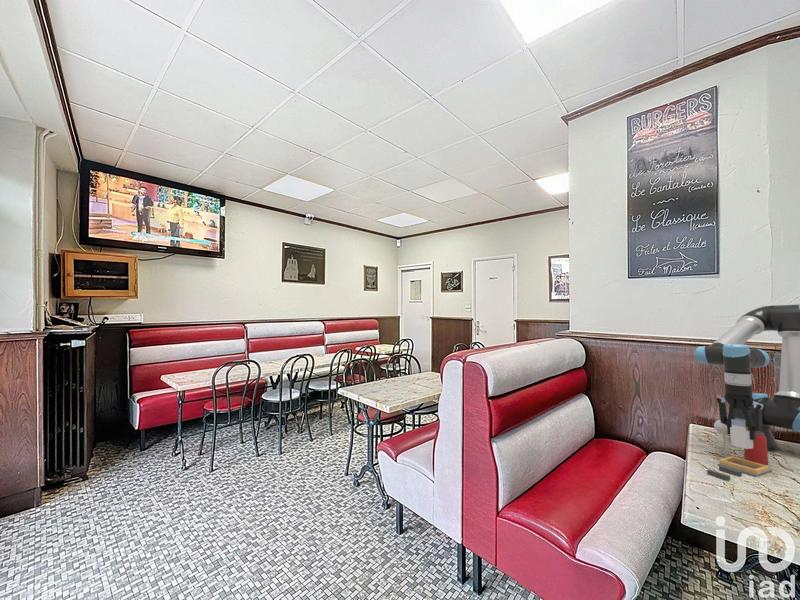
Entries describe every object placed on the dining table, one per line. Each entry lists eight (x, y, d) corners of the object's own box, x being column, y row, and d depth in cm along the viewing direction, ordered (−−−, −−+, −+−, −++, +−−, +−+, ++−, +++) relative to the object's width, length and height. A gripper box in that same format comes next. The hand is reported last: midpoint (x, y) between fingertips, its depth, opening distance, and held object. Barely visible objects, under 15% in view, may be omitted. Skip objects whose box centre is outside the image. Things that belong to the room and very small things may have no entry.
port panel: (733, 460, 138) (733, 455, 138) (771, 471, 128) (771, 465, 128) (717, 465, 133) (717, 460, 133) (755, 477, 123) (755, 471, 123)
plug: (738, 444, 134) (736, 418, 134) (752, 447, 130) (750, 420, 131) (733, 445, 132) (731, 419, 133) (746, 449, 128) (744, 421, 129)
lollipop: (731, 460, 138) (728, 422, 139) (713, 455, 143) (710, 419, 144) (738, 457, 141) (735, 420, 142) (719, 452, 146) (717, 417, 147)
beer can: (773, 466, 132) (770, 434, 133) (753, 464, 134) (750, 433, 134) (759, 459, 139) (757, 429, 140) (740, 458, 140) (738, 428, 141)
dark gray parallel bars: (721, 469, 130) (720, 465, 130) (742, 476, 124) (741, 471, 124) (707, 474, 126) (707, 469, 126) (728, 480, 120) (727, 476, 120)
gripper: (705, 381, 139) (709, 440, 137) (763, 388, 123) (768, 455, 122) (716, 380, 142) (719, 437, 140) (773, 387, 126) (778, 452, 125)
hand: (742, 445), depth 131 cm, fingers closed on plug, 4 cm apart
